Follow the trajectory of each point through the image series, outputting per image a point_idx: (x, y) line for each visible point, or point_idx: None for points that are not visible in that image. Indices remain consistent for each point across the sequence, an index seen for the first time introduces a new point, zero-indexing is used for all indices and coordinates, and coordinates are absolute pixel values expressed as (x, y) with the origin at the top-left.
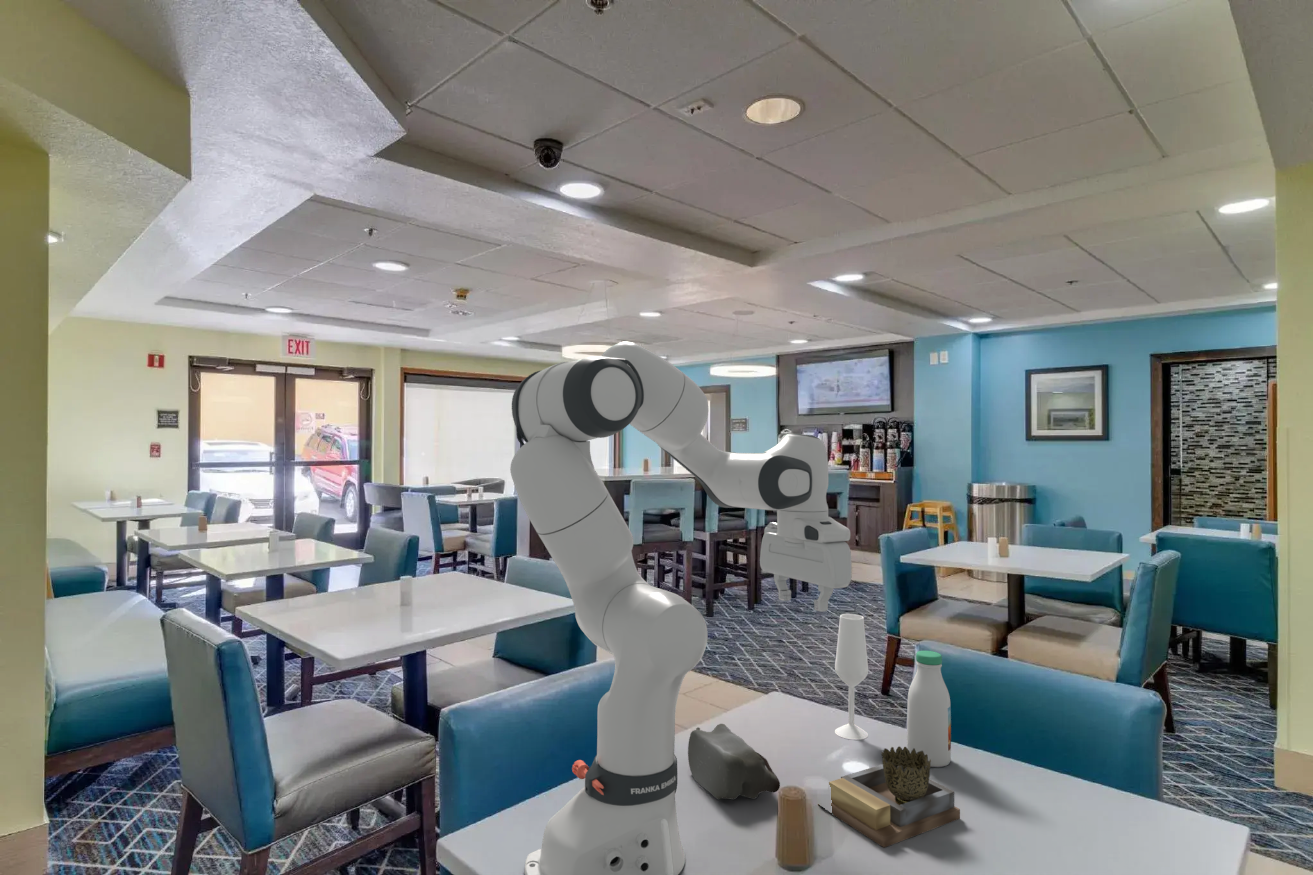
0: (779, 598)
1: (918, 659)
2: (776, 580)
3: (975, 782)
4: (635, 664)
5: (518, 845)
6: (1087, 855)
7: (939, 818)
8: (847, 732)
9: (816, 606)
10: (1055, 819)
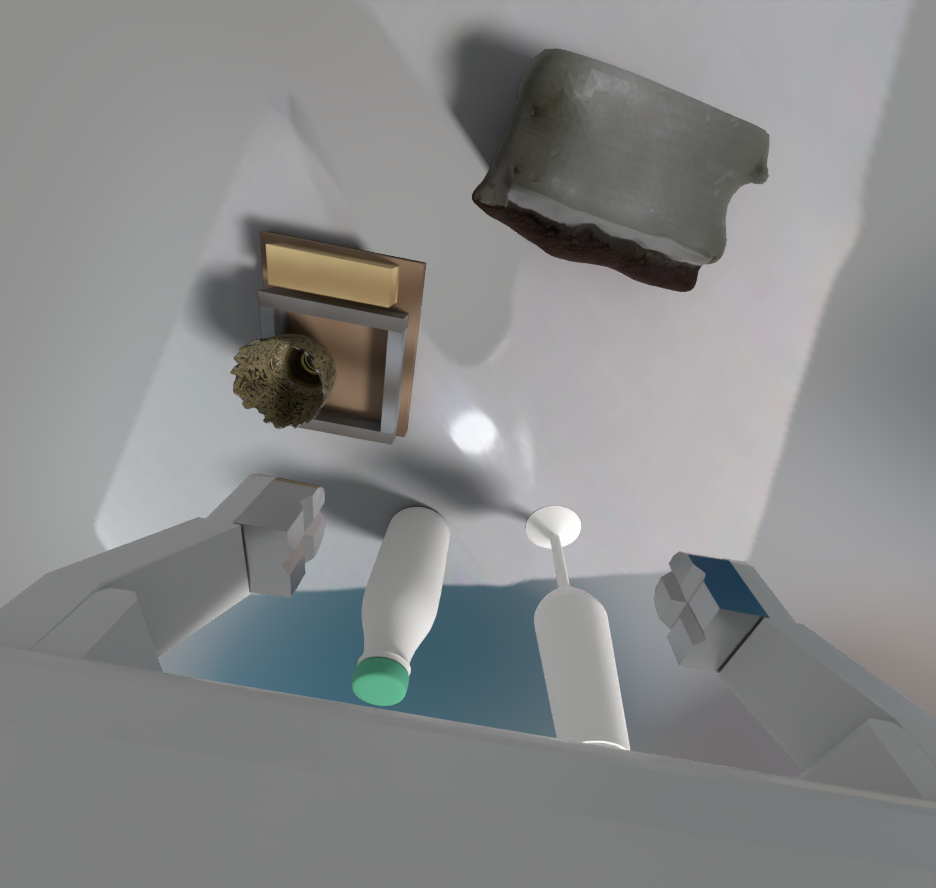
0: (736, 560)
1: (389, 665)
2: (902, 720)
3: (339, 511)
4: None
5: None
6: (151, 440)
7: None
8: (551, 518)
9: (283, 494)
10: (226, 492)
